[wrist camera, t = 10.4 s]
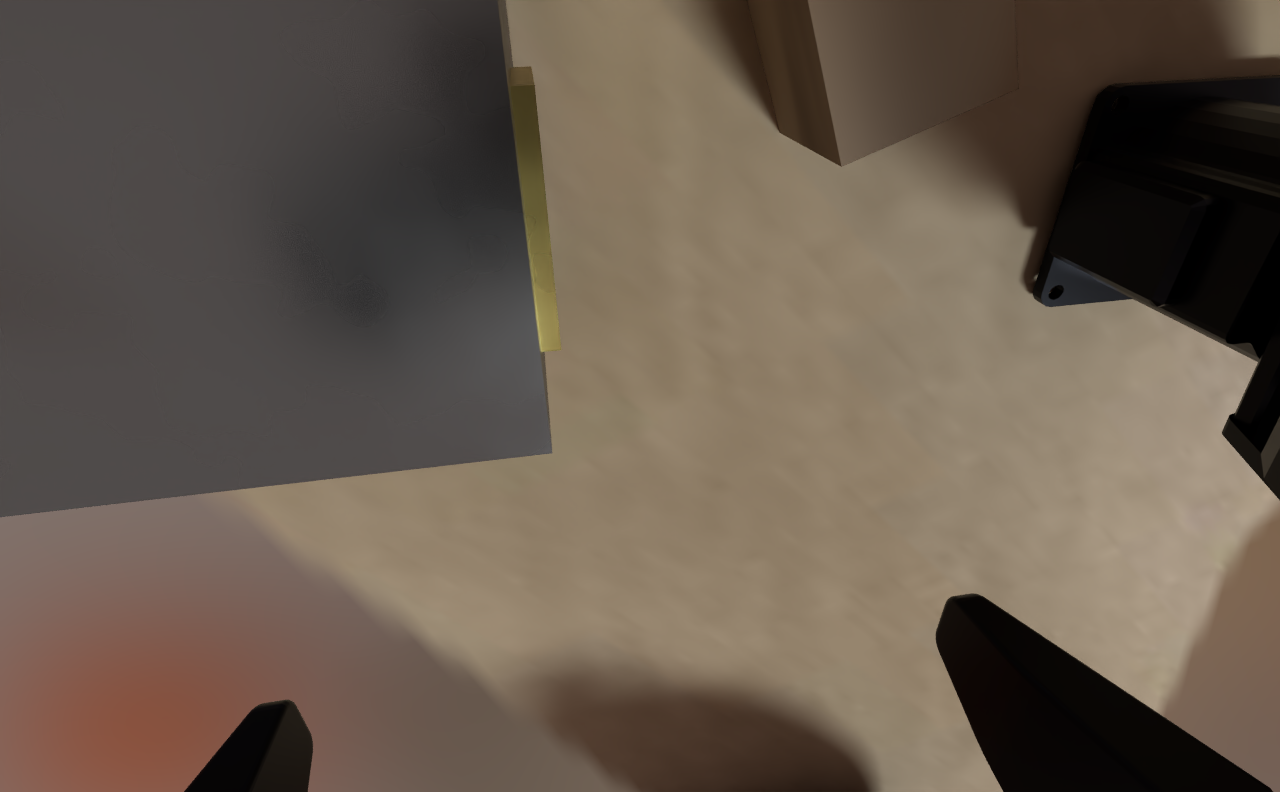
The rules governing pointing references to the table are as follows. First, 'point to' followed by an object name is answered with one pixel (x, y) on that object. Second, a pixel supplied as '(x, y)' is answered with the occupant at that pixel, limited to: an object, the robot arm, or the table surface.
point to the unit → (265, 245)
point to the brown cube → (880, 67)
